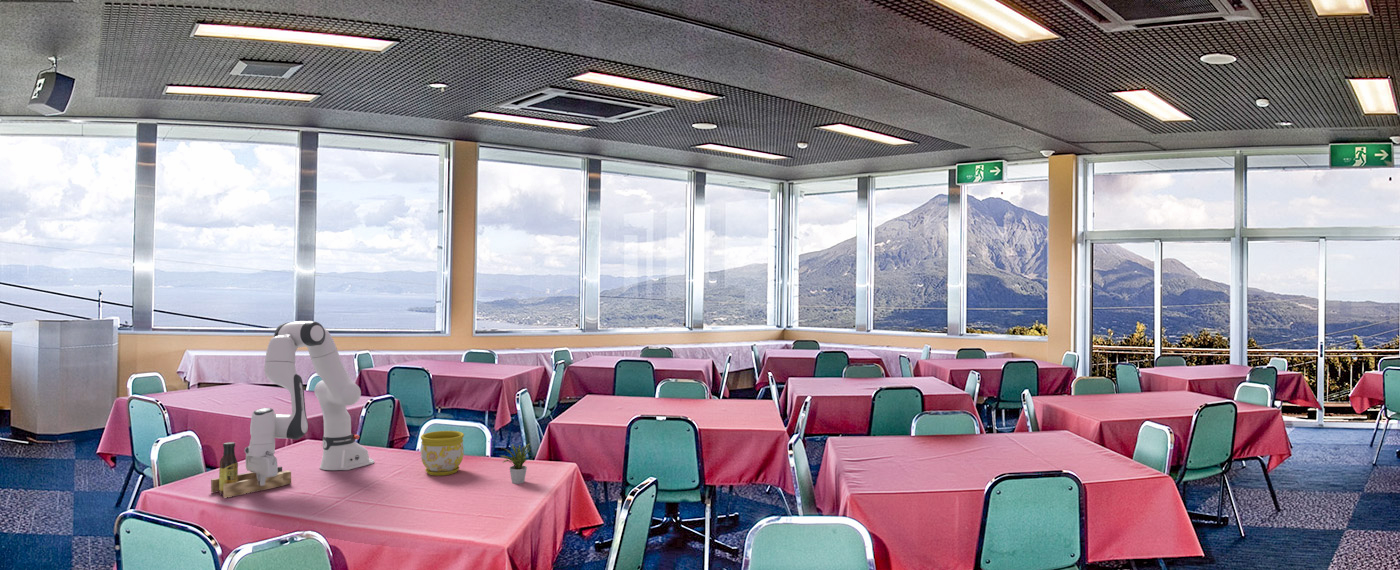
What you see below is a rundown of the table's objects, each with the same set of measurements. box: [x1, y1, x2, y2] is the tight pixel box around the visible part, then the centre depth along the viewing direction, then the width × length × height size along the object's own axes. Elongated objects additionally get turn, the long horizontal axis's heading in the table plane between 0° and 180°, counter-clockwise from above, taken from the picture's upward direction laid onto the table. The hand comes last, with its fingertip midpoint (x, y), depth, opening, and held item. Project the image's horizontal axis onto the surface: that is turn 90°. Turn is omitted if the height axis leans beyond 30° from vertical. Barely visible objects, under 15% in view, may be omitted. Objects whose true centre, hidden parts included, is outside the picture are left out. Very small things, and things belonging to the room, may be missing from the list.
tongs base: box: [210, 466, 283, 493], centre depth 321 cm, size 26×8×7 cm, turn 142°
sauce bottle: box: [218, 441, 239, 495], centre depth 313 cm, size 6×6×20 cm
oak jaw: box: [222, 470, 292, 499], centre depth 317 cm, size 26×4×5 cm, turn 144°
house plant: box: [499, 443, 533, 485], centre depth 335 cm, size 14×14×16 cm
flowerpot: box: [420, 430, 465, 477], centre depth 348 cm, size 18×18×16 cm
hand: (261, 485), depth 315 cm, fingers closed
